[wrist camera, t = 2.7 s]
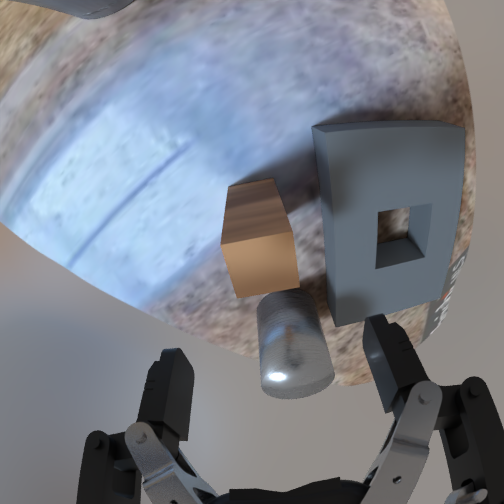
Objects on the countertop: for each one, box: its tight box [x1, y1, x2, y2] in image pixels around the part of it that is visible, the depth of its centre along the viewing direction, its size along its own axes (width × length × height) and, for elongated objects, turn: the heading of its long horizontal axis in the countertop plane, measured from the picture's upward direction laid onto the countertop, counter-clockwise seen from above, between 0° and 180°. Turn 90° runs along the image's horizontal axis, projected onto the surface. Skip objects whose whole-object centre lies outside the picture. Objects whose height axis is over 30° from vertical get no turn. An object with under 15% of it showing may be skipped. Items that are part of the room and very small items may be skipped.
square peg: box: [220, 178, 300, 298], centre depth 20 cm, size 4×4×10 cm
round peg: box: [257, 288, 335, 399], centre depth 27 cm, size 7×7×10 cm
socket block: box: [312, 120, 465, 327], centre depth 24 cm, size 20×14×4 cm
